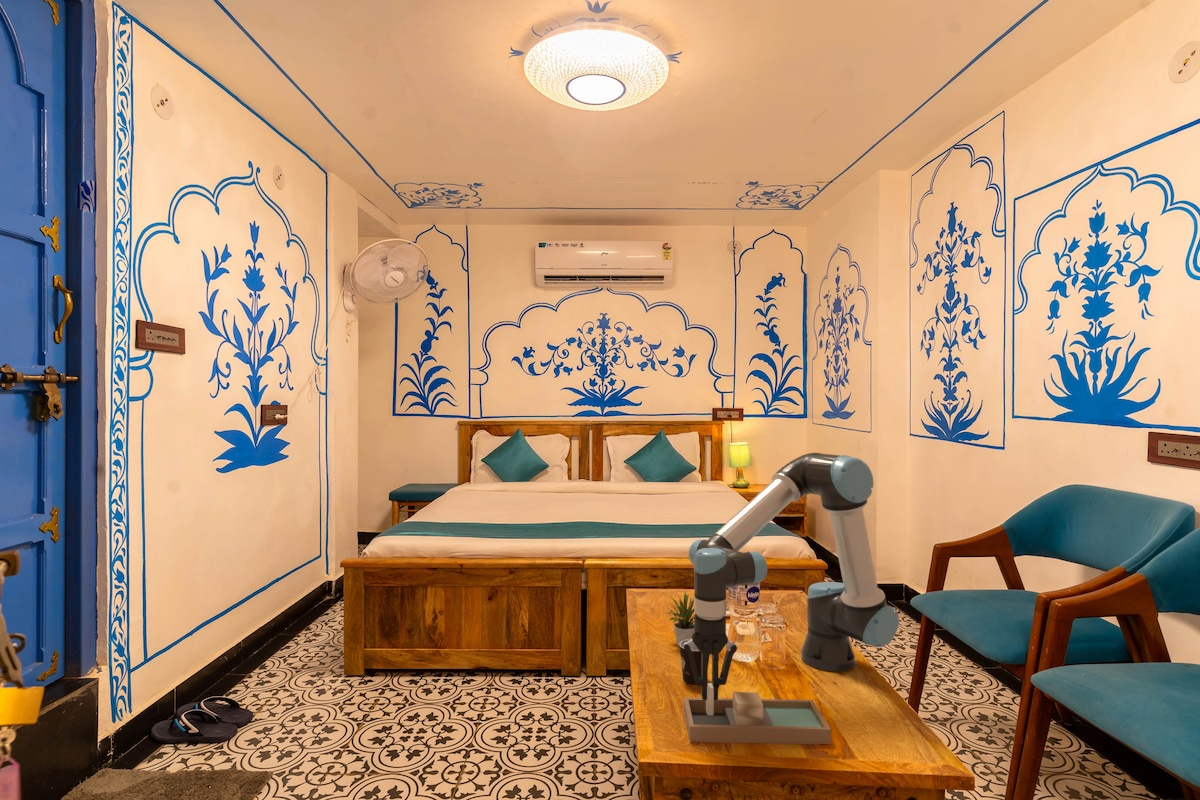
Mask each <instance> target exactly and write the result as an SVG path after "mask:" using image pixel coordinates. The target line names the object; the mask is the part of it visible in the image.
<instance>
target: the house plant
mask: <svg viewBox="0 0 1200 800" xmlns="http://www.w3.org/2000/svg"><path fill="white" fill-rule="evenodd" d="M665 595H666V596H668V598H669V597H670V599H672V601H673V602H674V604H675V605H673V604H671V603H670V602H668V601H665V603H668V604H666V605H667V606H671V607H672V608H673V609H674V610H675V612H674V611H673V610H672V609H671V608H668V607H667V609H668V610H669V612H667V613H666V615H667V616H668V617H670V619H669V620H668V622H669V621H673V622H672V623H673V629H674V633H675V635H674V636H675V642H676V646H677V645H678V647H679V648H680V646H679V643H680V642H681V641H683V640H686V639H692V635H693V634H694V614H695V612H694V601H695V597H693V596H692V594H691V595H690V593H687V591H684V593H683V601H682V599H681V598H679V605H678V602H677V600H675V599H674V597H673V596H670V595H668V594H664V596H665ZM689 596H690V599H689ZM688 600H689V603H688ZM669 614H670V615H669ZM671 615H673V617H671Z"/></svg>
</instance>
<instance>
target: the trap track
mask: <svg viewBox="0 0 1200 800" xmlns="http://www.w3.org/2000/svg"><path fill="white" fill-rule="evenodd" d="M760 699H761V701H762V703H763V726H755V725H737V723H736V720H735V718H734V715H733V698H728V697H727V698H725V697H724V698H722V697H718V700H714V716H713V715H707V712H706V700H703V699H702V697H683V714H684V719H685V724H686V729H687V733H688V740H689V743H727V744H728V743H732V744H735V743H736V744H737V743H738V744H770V745H771V744H776V745H777V744H779V745H780V744H781V745H783V744H784V745H819V744H831V745H832V728H831V727H830V726H829V724H828V722H827V720H826V719H825V718H824V716H823V714H822V713H821V711H820V710H819V708H818V706H817V704H816V703H815V701H814V699H784V698H783V699H780V698H779V699H777V698H776V699H775V698H774V699H773V698H772V699H771V698H769V699H768V698H760Z"/></svg>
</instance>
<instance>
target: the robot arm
mask: <svg viewBox="0 0 1200 800" xmlns="http://www.w3.org/2000/svg"><path fill="white" fill-rule="evenodd" d="M874 483H875V482H874V476H873V473H872V470H871V469H870V467H869V465H868V464H867V463H866V462H865V461H863V460H862V459H861V458H858V457H853V456H850V455H845V454H843V455H838V454H829V453H822V452H810V453H806V454H803V455H800V456H798V457H795V458H794V459H793V460H791V461H789V462H788V463H786V464H785V465H784V466H781V468H779V470H777V471H776V472H775V473H774V474H773V475H772V477H771V481H770V482H769V483H768V484H767V485H766V486H765V487H764V488H763V489H762V490H760V492H758V494H757V495H755V496H754V497H753V498H752V499H750V500H749V502H747V503H746V504H745V505H744V506H743V507H742V509H740V510H738V512H737V513H736V514H734V515H733V516H732V517H731V518H730V519H729V520H728V521H727V522H726V523H724V525H723V526H722V527H720V528H719V529H718V530H717V531H716V532H715V533H714V534H713V535H712V536H710V537H709V538H708V539H697V540H695V541H694V542H693V543H692V544H691V545H690V547H689V550H688V557H689V561H690V563H691V564H692V565H693V571H694V572H693V575H694V576H693V577H694V581H693V582H694V583H693V584H694V585H693V588H694V604H693V609H694V614H693V616H694V619H693V621H694V634H693V635H692V639H691V640H689V641H688V642H687V641H684V642H683V646H684V649H685V651H686V652H687V654H688V656H689V660H690V664H691V668H692V673H693V677H694V681H695V684H696V685H700V686H701V687H700V688H701V690H700V691H701V693H700V694H701V698H702V699H703V700H706V712H707V715H713V716H714V700H718V698H719V687H720V686H726V684H727V681H728V676H729V672H730V670H731V665H732V661H733V657H734V654H735V653H736V652H737V650H738V646H737V644H736V642H735V641H731V640H730V639H729V638H728V635H727V617H726V615H727V588H728V589H729V588H734V587H739V586H740V587H741V586H745V585H754V584H755V583H760V582H762V581H764V580H765V579H766V577H767V575H768V564H767V560H766V559H765V557H764V556H763V554H761V553H760V552H758V551H749V550H748V551H746V552H741V551H740V550H741V549H742V548H743V547H745V546H746V545H747V544H748V543H749V542H750V541H751V540H752V539H753V538H754V537H755V536H756V535H758V534H759V533H760V531H762V530H763V529H764V528H765V527H766V526H767V525H768V524H769V523H771V522H772V520H773V519H775V517H776V516H778V515H779V513H781V512H782V511H783V510H784V509H785V508H786V507H787V506H788V505H789V504H790V503H792V502H793V503H794V502H799V500H800V499H801V498H802V497H804V496H806V495H817V496H819V497H820V500H821V501H820V502H821V506H822V508H823V510H825V511H827V512H828V513H829V516H830V522H831V526H832V531H833V537H834V543H835V548H836V552H837V558H838V562H839V568H840V574H841V578H842V582H838V581H837V582H836V581H821V582H816V583H812V584H810V585H809V587H808V590H807V591H808V592H807V597H806V598H807V599H806V600H807V601H806V602H807V603H806V604H807V634H806V636H805V640H804V642H803V645H802V648H801V655H800V656H801V660H802V661H803V662H804V664H806V665H808V666H809V667H812V668H815V669H818V670H821V671H826V672H827V671H829V672H845V671H846V672H847V671H850V670H852V669H854V668H855V666H856V656H855V652H854V648H853V646H852V643H851V639H850V638H852V639H855V641H856V640H857V641H859V642H861V643H864V644H865V645H867V646H873V647H874V648H875V647H876V648H882V647H885V646H887V645H888V644H890V643H891V641H893V639H894V638H895V636H896V633H897V632H898V629H899V625H900V624H899V623H900V617H899V613H898V611H897V609H895V608H894V607H893V606H891V605H889V604H887V600H886V594H885V592H884V591H883V589H881V588H879V587H878V583H877V578H876V573H875V566H874V563H873V556H872V551H871V547H870V541H869V536H868V535H869V534H868V532H867V531H868V530H867V523H866V521H865V514H864V510H863V509H864V507H866V505H867V504H868V500H869V498H870V497H871V495H872V493H873V488H874ZM694 644H695V645H696V647H697V648H698V649H699V651H700V652H701V678H700V677H699V676H698V672H697V667H696V663H695V659H694V655H693V651H692V650H693V649H694V647H693V645H694ZM724 648H726V651H725V654H724V659H723V663H722V665H721V666H722V667H721V669H719V660H720V653H721V652H722V651H723V649H724ZM709 654H710V655H711V664H712V665H711V682H710V683H709V681H708V679H709V678H708V675H709V673H708V670H709V664H708V655H709ZM710 655H709V656H710ZM719 670H720V673H719Z"/></svg>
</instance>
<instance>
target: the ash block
mask: <svg viewBox="0 0 1200 800" xmlns="http://www.w3.org/2000/svg"><path fill="white" fill-rule="evenodd" d="M732 699H733V715H734V718H735V720H736V723H737V725H755V726H763V703H762V701H761V699H762V698H761V697H760V695H759V693H758V692H757V691H755V692H753V691H752V692H751V691H750V692H749V691H748V692H747V691H746V692H745V691H734V692H732Z"/></svg>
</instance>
